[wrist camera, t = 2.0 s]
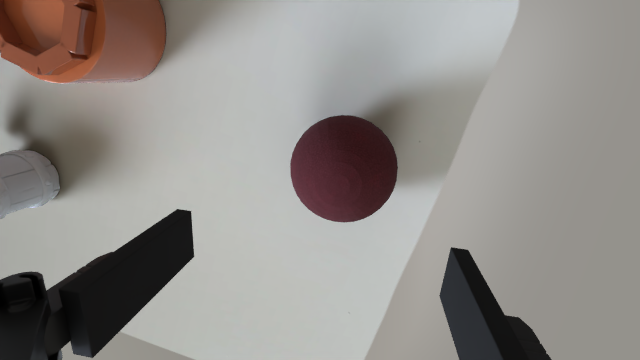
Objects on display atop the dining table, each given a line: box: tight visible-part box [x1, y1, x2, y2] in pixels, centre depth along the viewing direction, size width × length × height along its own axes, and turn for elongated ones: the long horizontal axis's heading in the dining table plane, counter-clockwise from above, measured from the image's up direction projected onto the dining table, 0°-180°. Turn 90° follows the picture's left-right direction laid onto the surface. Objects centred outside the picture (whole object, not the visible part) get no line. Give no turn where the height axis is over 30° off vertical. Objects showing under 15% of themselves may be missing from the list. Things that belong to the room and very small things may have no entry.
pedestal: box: [0, 0, 166, 83], centre depth 29 cm, size 12×12×10 cm
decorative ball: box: [291, 115, 398, 222], centre depth 29 cm, size 10×10×10 cm
